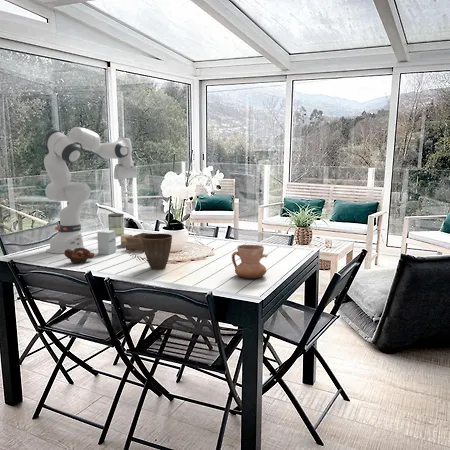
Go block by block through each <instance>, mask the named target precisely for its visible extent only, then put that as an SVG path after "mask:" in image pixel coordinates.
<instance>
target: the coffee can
mask: <svg viewBox="0 0 450 450" xmlns="http://www.w3.org/2000/svg"><path fill="white" fill-rule="evenodd" d="M124 215H125V214H124V213H119V212H117V213H109V214H108V215H107V216H108V217H107V218H108V230H113V231H115V237H119V236H120V237H121V235H125V224H124V223H125V221H124V219H125V216H124Z"/></svg>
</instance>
